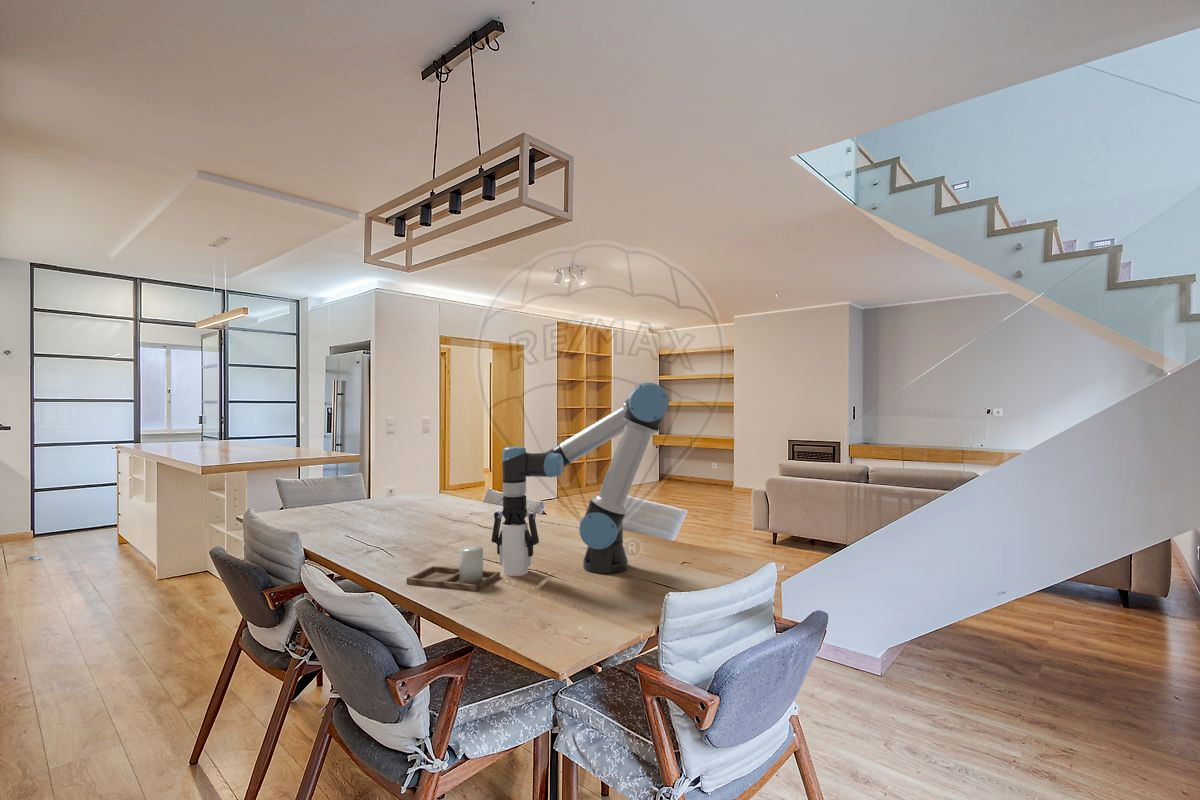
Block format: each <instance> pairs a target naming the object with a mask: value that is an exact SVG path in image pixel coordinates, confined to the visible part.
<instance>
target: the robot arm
mask: <svg viewBox="0 0 1200 800" xmlns="http://www.w3.org/2000/svg"><path fill="white" fill-rule="evenodd" d="M669 399H670V398H669V395H668V393H667V392H666V390H665V388H663V387H662V386H661V385H659V384H657V383H653V382H644V383H641V384H639V385H637V386H636V387H635V388H634V389H632V391H631V392H630V394H629V398H628V399H626V400H625V401H624V402H623V404H622V406H620V407H619V408H617V409H616V410H614V411H613V412H610V413H609V414H607V415H606V416H604V417H603V418H600V419H599V420H596V422H594V423H592V424H591V425H588V426H587V427H586V428H584V429H583V430H581V431H580V432H579V431H578V432H577V433H576V434H575V435H573V436H571V437H569V438H568V439H566V440H565V441H563V442H561V443H560V444H558V445H556V446H554V447H553V448H551V449H549V450H547V451H545V452H542V453H541V452H540V453H539V452H537V453H536V452H533V453H531V452H527V449H526V447H524V446H508V447H504V448H503V449H502V460H501V465H502V469H501V470H502V494H503V496H502V510H501V511H500V510H498V511H496V512H494V513H493V518H494V523H493V529H492V534H491V543H493V544H496V554H497V555H499V566H501V567H502V529H501V525H502V523H501V522H502V518H504V521H503V522H504V525H511V524H517V525H523V524H526V517H527V520H528V526H529V528H528V529H527V530H525V541H526V543H527V546H526V547H525V567H527V568H528V569H529V567H530V566H532V556H534V546H536V545H538V544H539V542H540V540H539V534H538V529H537V523H536V515H537V514H536V512H533V513H532V512H528V510H527V496H526V493H527V478H528V477H534V478H535V477H540V478H544V477H546V478H553V477H554V478H555V477H557V478H558V477H561V476H562V474H563V472H564V468H565V467H567V466H569V465H570V464H571V463H574V462H575V461H577V460H578V459H580V458H582V457H583V456H585V455H587V454H588V453H590V452H592V451H594V450H596V449H597V448H599V447H601V446H602V445H604V444H605V443H607V442H609V441H611V440H612V439H614V438H616V437H617V436H620V435H621V436H620V438H619V441H618V443H617V446H616V449H615V451H614V454H613V456H612V459H611V461H610V464H609V467H608V469H607V471H606V474H605V477H604V479H603V482H602V484H601V487H600V490H599V492H598V494H597V495H596V496H593V497H591V499H590V500H589V501H588V506H587V509H586V511H585V514H584V516H583V517H582V519H581V520H580V523H579V527H578V528H579V531H578V533H579V536H580V539H581V540H582V542H583V543H584V544H585V545H586V546H587V548H586V550H585V551H586V552H585V555H584V557H583V560H582V563H583V564H582V565H583V566H582V567H583V569H584V570H586V571H588V572H591V573H597V574H616V573H621V572H624V571H626V570H628V568H629V560H628V556H627V554H626V550H625V547H624V544H623V543H624V527H623V526H624V525H623V524H624V518H625V516H626V513H627V511H626V509H625V507H624V505H625V502H626V500H627V499H628V498H627V497H628V495H629V492H630V490H631V487H632V485H633V482H634V480H635V478H636V475H637V472H638V469H639V467H640V464H641V462H642V459H643V457H644V454H645V451H646V449H647V446H648V444H649V441H650V439H651V437H652V436H653V434H656V433H658V432H659V429H660V427H661V424H662V422H663V420H664V417H665V414H666V413H667V412H668V408H669V405H670V404H669V403H670V400H669ZM500 529H501V531H500Z"/></svg>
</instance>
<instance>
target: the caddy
mask: <svg viewBox="0 0 1200 800" xmlns="http://www.w3.org/2000/svg"><path fill="white" fill-rule="evenodd" d="M499 578H501V572H500V571H493V570H483V581H482V582H481V583H479V584H477V585H475V584H465V583H459V567H452V566H451V567H449V566H440V565H432V566H429V567H427V568H425V569H423V570H421V571H419V572H418V573H415V574H413V575H412V576H409V577H407V578H406V584H407V585H412V586H413V585H415V586H425V587H435V588H442V589H443V588H444V589H452V590H453V589H454V590H461V591H471V592H480V591H481V590H483V589H484V588H486V587H487V586H489V585H490V584H492V583H494V582H495V581H496V580H498V579H499Z"/></svg>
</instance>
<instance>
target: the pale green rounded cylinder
mask: <svg viewBox="0 0 1200 800" xmlns="http://www.w3.org/2000/svg"><path fill="white" fill-rule="evenodd" d="M458 552H459V555H458V561H459V562H458V565H459V566H458V568H459V583H465V584H475V585H477V584H479V583H481V582H482V581H483V571H484V565H483V564H484V548H483V547H482V546H479V545H478V546H477V545H469V546H464V547H460V548H459V550H458Z"/></svg>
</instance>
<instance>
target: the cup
mask: <svg viewBox="0 0 1200 800" xmlns="http://www.w3.org/2000/svg"><path fill="white" fill-rule="evenodd" d="M525 521H526V520H525ZM504 522H505V521H503V522H502V523H501V530H502V566H501V567H502V569H501V570H502V575H505V576H507V577H520V576H524V575H527V574H528V573H529V567H528V568H527V567H525V547H526V546H527V543H526V541H525V530H527V529H528V530H529V528H528V526H529V521H526V524H523V525H517V524H511V525H504Z"/></svg>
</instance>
